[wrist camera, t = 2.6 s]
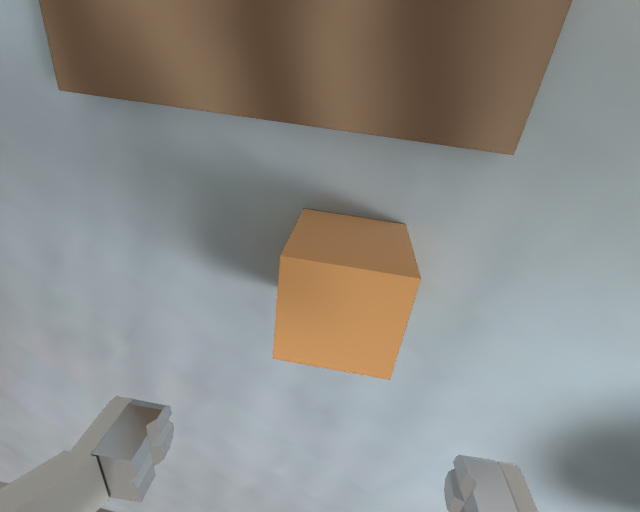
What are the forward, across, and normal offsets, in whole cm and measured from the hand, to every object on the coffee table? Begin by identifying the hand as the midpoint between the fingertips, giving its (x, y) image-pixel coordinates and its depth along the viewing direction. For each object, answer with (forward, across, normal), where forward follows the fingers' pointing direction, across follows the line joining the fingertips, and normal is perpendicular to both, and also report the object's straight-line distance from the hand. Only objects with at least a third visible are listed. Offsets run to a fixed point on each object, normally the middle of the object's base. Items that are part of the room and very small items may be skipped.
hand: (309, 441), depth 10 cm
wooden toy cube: (+11, -1, 0) cm, 11 cm away
